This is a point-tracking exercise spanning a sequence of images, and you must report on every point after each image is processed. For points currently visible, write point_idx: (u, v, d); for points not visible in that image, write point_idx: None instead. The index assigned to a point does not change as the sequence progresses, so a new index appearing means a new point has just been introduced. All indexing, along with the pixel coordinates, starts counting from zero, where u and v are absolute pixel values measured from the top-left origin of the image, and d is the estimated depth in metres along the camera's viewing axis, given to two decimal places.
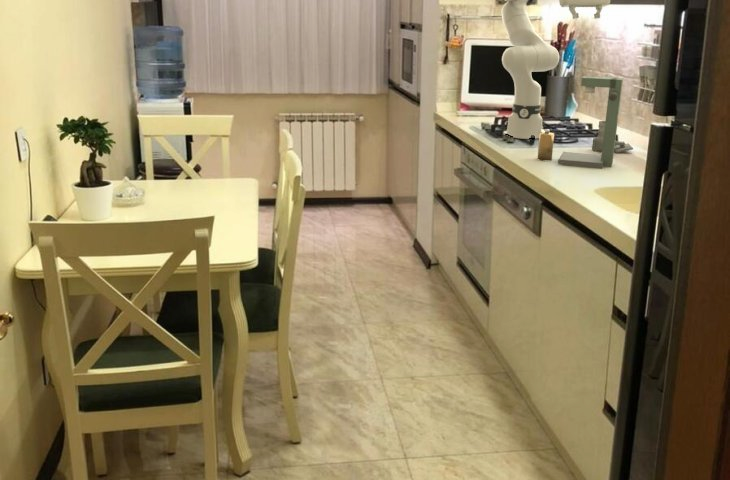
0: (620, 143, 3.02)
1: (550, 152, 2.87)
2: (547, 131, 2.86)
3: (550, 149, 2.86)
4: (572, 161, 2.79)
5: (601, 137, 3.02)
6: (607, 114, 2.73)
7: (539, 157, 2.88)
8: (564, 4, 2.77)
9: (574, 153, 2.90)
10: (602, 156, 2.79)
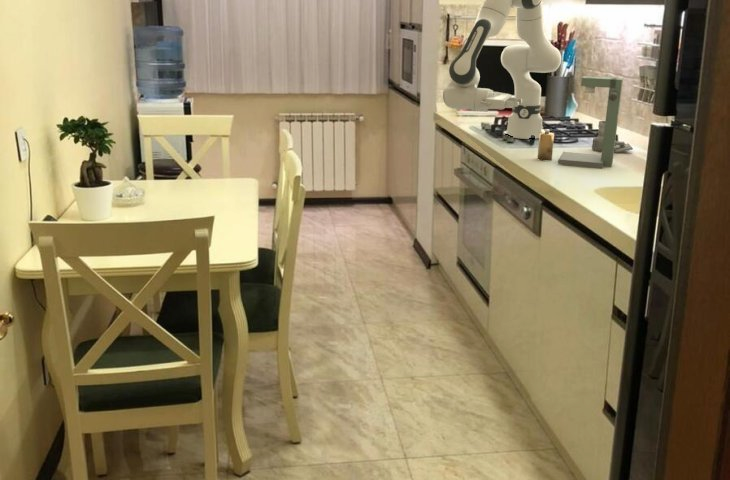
0: (620, 143, 3.02)
1: (550, 152, 2.87)
2: (547, 131, 2.86)
3: (550, 149, 2.86)
4: (572, 161, 2.79)
5: (601, 137, 3.02)
6: (607, 114, 2.73)
7: (539, 157, 2.88)
8: None
9: (574, 153, 2.90)
10: (602, 156, 2.79)
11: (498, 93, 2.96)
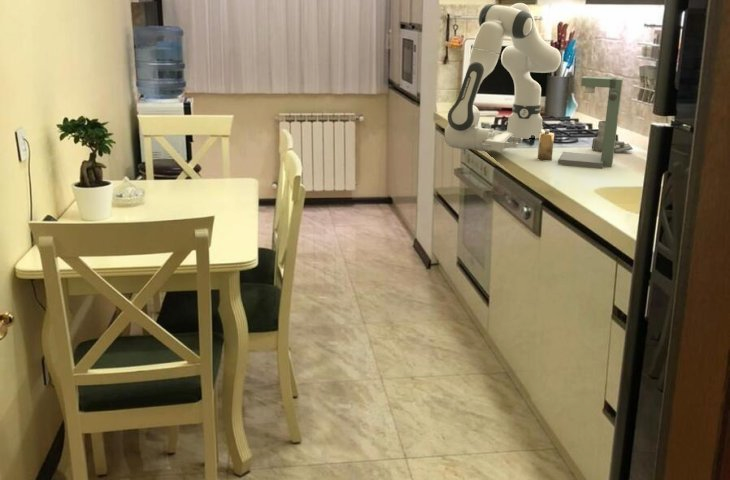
0: (620, 143, 3.02)
1: (550, 152, 2.87)
2: (547, 131, 2.86)
3: (550, 149, 2.86)
4: (572, 161, 2.79)
5: (601, 137, 3.02)
6: (607, 114, 2.73)
7: (539, 157, 2.88)
8: None
9: (574, 153, 2.90)
10: (602, 156, 2.79)
11: (499, 132, 3.01)
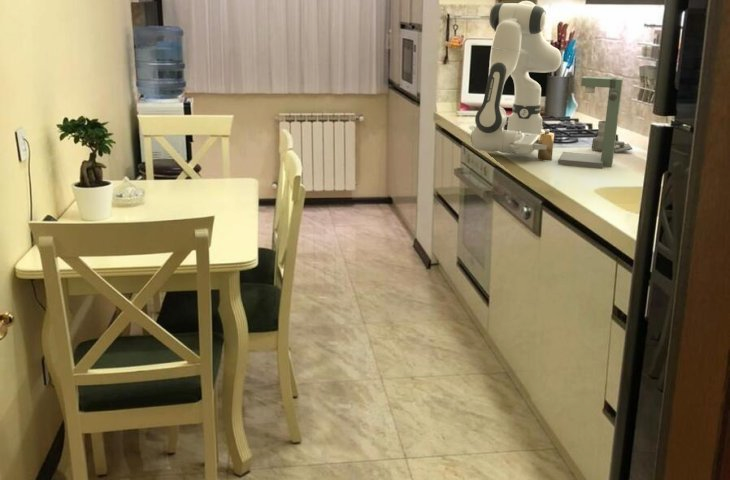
0: (620, 143, 3.02)
1: (550, 152, 2.87)
2: (547, 131, 2.86)
3: (550, 149, 2.86)
4: (572, 161, 2.79)
5: (600, 137, 3.02)
6: (607, 114, 2.73)
7: (539, 157, 2.88)
8: None
9: (574, 153, 2.90)
10: (602, 156, 2.79)
11: (526, 134, 2.97)
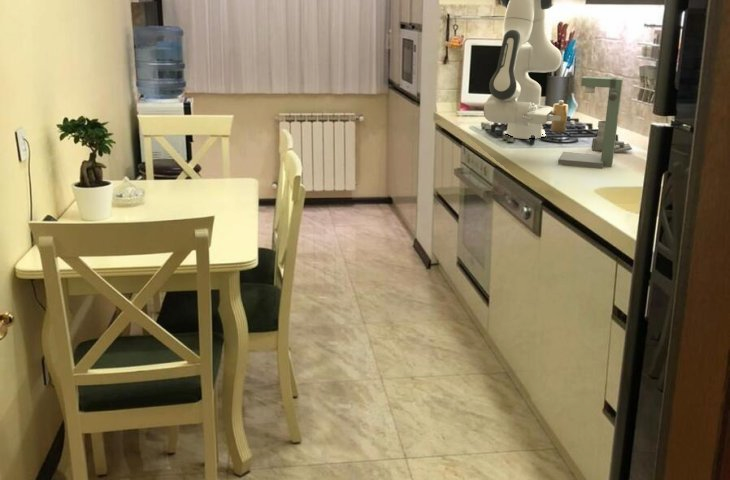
0: (619, 143, 3.02)
1: (564, 123, 2.81)
2: (561, 102, 2.80)
3: (564, 120, 2.81)
4: (572, 161, 2.79)
5: (600, 137, 3.03)
6: (607, 114, 2.73)
7: (553, 129, 2.83)
8: None
9: (574, 153, 2.90)
10: (602, 156, 2.79)
11: (539, 106, 2.92)
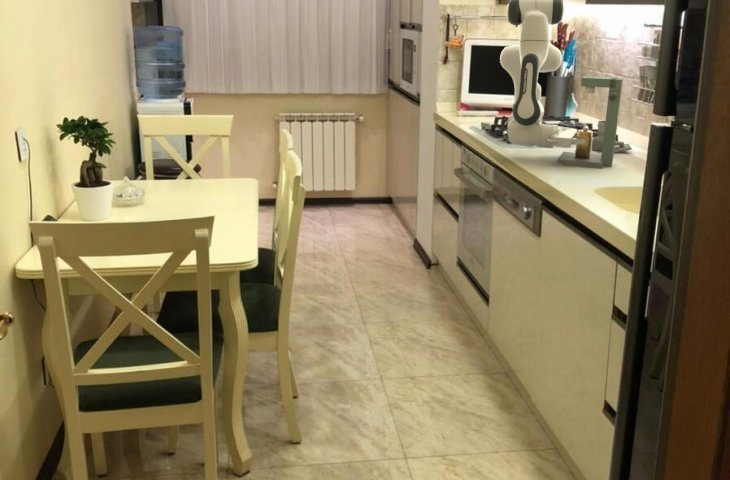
0: (619, 143, 3.03)
1: (588, 150, 2.81)
2: (586, 129, 2.80)
3: (588, 147, 2.81)
4: (572, 161, 2.79)
5: (600, 137, 3.03)
6: (607, 114, 2.73)
7: (577, 155, 2.83)
8: None
9: (574, 153, 2.90)
10: (602, 156, 2.79)
11: (563, 128, 2.91)
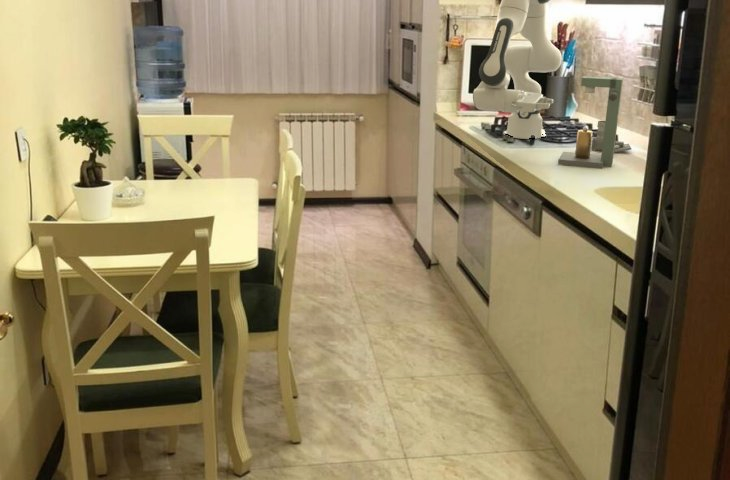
0: (619, 143, 3.03)
1: (588, 150, 2.81)
2: (585, 129, 2.80)
3: (588, 147, 2.81)
4: (572, 161, 2.79)
5: (600, 137, 3.03)
6: (607, 114, 2.73)
7: (577, 155, 2.83)
8: None
9: (574, 153, 2.90)
10: (602, 156, 2.79)
11: (529, 93, 2.92)
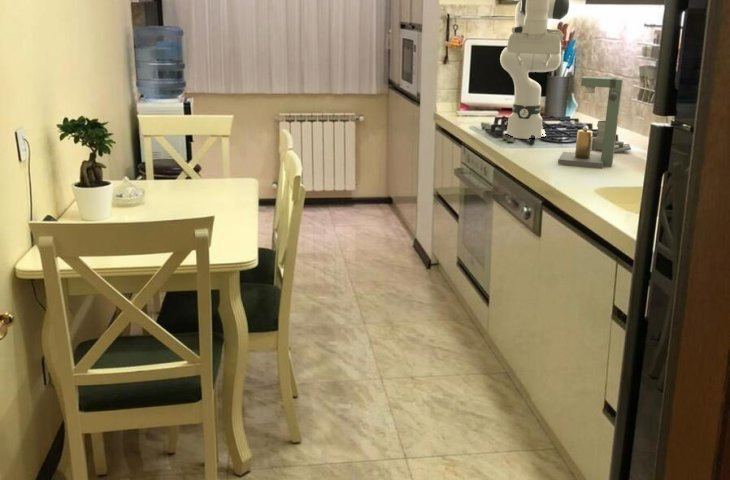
0: (619, 143, 3.03)
1: (588, 150, 2.81)
2: (585, 129, 2.80)
3: (588, 147, 2.81)
4: (572, 161, 2.79)
5: (599, 136, 3.03)
6: (607, 114, 2.73)
7: (577, 155, 2.83)
8: (508, 51, 2.90)
9: (574, 153, 2.90)
10: (602, 156, 2.79)
11: None
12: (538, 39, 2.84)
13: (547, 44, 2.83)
